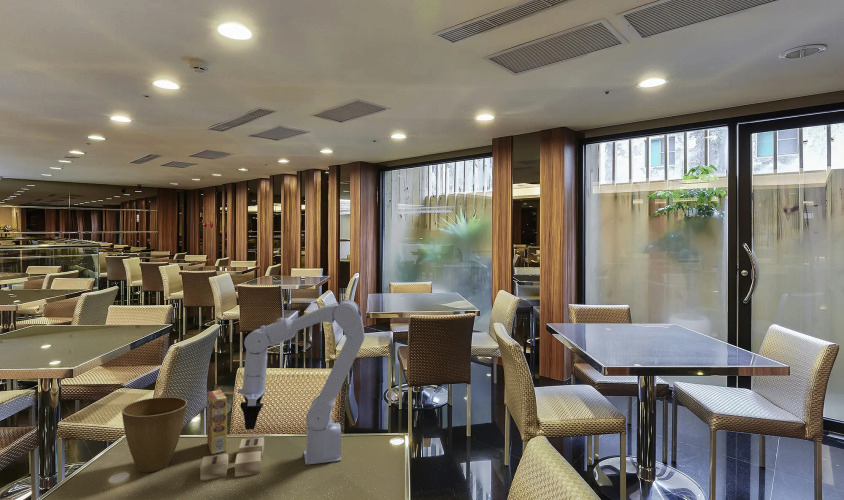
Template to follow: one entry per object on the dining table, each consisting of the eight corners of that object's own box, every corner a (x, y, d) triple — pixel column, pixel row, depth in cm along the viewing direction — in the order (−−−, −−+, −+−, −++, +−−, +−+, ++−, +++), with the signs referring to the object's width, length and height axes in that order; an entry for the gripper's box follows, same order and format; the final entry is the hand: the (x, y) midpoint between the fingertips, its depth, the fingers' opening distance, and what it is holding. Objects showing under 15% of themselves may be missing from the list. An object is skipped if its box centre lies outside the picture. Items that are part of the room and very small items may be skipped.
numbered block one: (228, 466, 124) (228, 453, 124) (226, 477, 118) (226, 463, 118) (203, 470, 122) (203, 456, 122) (200, 481, 116) (200, 466, 116)
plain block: (260, 464, 126) (261, 451, 126) (260, 474, 120) (260, 460, 120) (236, 466, 124) (237, 453, 124) (234, 477, 118) (235, 463, 118)
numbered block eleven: (264, 449, 135) (264, 436, 135) (262, 458, 129) (262, 445, 129) (241, 451, 133) (241, 438, 133) (238, 460, 127) (239, 447, 127)
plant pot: (114, 484, 113) (115, 418, 113) (127, 458, 127) (128, 399, 127) (183, 474, 119) (184, 411, 119) (188, 450, 133) (189, 394, 132)
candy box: (227, 451, 132) (228, 397, 132) (211, 455, 130) (211, 400, 130) (221, 440, 140) (221, 389, 139) (205, 443, 137) (206, 391, 137)
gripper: (241, 366, 133) (237, 414, 134) (237, 381, 120) (232, 434, 120) (267, 366, 136) (263, 413, 136) (266, 381, 122) (261, 433, 122)
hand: (250, 423), depth 128 cm, fingers open, 7 cm apart
